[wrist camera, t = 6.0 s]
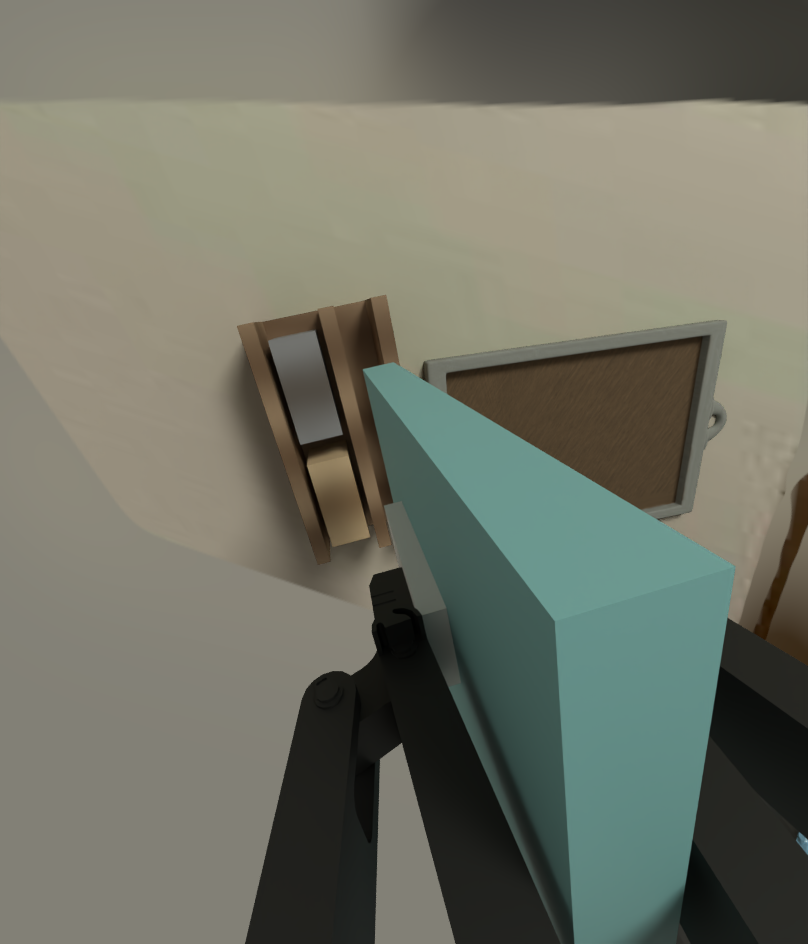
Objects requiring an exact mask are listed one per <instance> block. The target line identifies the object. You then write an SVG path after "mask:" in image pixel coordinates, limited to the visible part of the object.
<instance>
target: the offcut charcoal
mask: <svg viewBox="0 0 808 944" xmlns="http://www.w3.org/2000/svg"><path fill="white" fill-rule="evenodd" d="M268 343H269V347H270V350H271V353H272V356H273V359H274V362H275V366H276V369H277V372H278V375H279V378H280V381H281V385H282V388H283V391H284V394H285V397H286V401H287V404H288V407H289V410H290V413H291V416H292V420H293V423H294V426H295V429H296V432H297V435H298V439H299V442H300V445H302V444H306V443H310V442H314V441H318V440H322V439H327V438H331V437H335V436H339V435H343V433H342V426H341V420H340V417H339V413H338V409H337V405H336V402H335V398H334V394H333V390H332V387H331V383H330V379H329V375H328V372H327V368H326V364H325V360H324V357H323V353H322V349H321V345H320V341H319V338H318V334H317V330H316V329H315V330H311V331H306V332H301V333H297V334H292V335H287V336H282V337H278V338H274V339H271V340H269V341H268Z"/></svg>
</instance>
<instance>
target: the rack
mask: <svg viewBox="0 0 808 944" xmlns="http://www.w3.org/2000/svg"><path fill="white" fill-rule="evenodd" d="M237 328H238V331H239V334H240V337H241V340H242V343H243V346H244V349H245V352H246V355H247V357H248V360H249V363H250V366H251V369H252V372H253V375H254V378H255V381H256V384H257V387H258V390H259V393H260V396H261V399H262V402H263V405H264V407H265V410H266V413H267V416H268V419H269V422H270V425H271V428H272V431H273V434H274V437H275V440H276V443H277V446H278V449H279V452H280V455H281V457H282V460H283V463H284V466H285V469H286V472H287V475H288V478H289V481H290V484H291V487H292V490H293V493H294V496H295V499H296V502H297V505H298V507H299V510H300V513H301V516H302V519H303V522H304V525H305V528H306V531H307V534H308V537H309V540H310V543H311V546H312V549H313V552H314V555H315V557H316V560H317V563H318V565H319V564H323V563H327V562H330V537H329V534H328V531H327V527H326V524H325V521H324V518H323V515H322V512H321V508H320V505H319V502H318V499H317V496H316V493H315V489H314V486H313V483H312V480H311V477H310V473H309V470H308V467H307V462H308V454H309V449H310V448H314V447H318V446H322V445H326V444H331V443H335V442H339V441H343V440H346V443H347V447H348V451H349V454H350V458H351V462H352V466H353V469H354V473H355V477H356V481H357V484H358V488H359V492H360V496H361V499H362V503H363V507H364V511H365V515H366V519H367V524H368V526H369V525H373V524H374V528H375V532H376V536H377V540H378V544H379V548H382V547H385V546H389V545H392V544H391V540H390V536H389V532H388V527H387V523H386V521H387V516H386V512H385V508H384V505H388V504H392V503H393V499H392V495H391V490H390V486H389V482H388V477H387V473H386V469H385V464H384V460H383V456H382V451H381V447H380V443H379V438H378V434H377V430H376V425H375V421H374V417H373V412H372V408H371V404H370V399H369V395H368V391H367V386H366V382H365V378H364V374H363V369H366V368H370V367H375V366H379V365H384V364H388V363H392V362H394V363H396V364H397V365H399V366H400V364H399V359H398V354H397V349H396V344H395V338H394V333H393V328H392V323H391V318H390V313H389V307H388V302H387V297H386V295H383V296H378V297H373V298H370V299H367V300H365V301H361V302H356V303H351V304H346V305H342V306H337V307H334V306H330V307H325V308H320V309H318V311H313V312H308V313H303V314H299V315H294V316H289V317H284V318H279V319H275V320H270V321H265V322H253V323H248V324H244V325H239V326H237ZM315 329H316V330H317V334H318V338H319V341H320V345H321V349H322V353H323V357H324V360H325V364H326V368H327V372H328V375H329V379H330V383H331V387H332V390H333V394H334V398H335V402H336V405H337V409H338V413H339V417H340V420H341V426H342V433H343V435H339V436H335V437H331V438H327V439H322V440H318V441H314V442H310V443H306V444H302V445H300V442H299V439H298V435H297V432H296V429H295V426H294V423H293V420H292V416H291V413H290V410H289V407H288V404H287V401H286V397H285V394H284V391H283V388H282V385H281V381H280V378H279V375H278V372H277V369H276V366H275V362H274V359H273V356H272V353H271V350H270V347H269V343H268V341H269V340H271V339H274V338H278V337H282V336H287V335H292V334H297V333H301V332H306V331H311V330H315Z"/></svg>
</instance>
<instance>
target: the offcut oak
mask: <svg viewBox="0 0 808 944" xmlns="http://www.w3.org/2000/svg"><path fill="white" fill-rule="evenodd" d="M307 467H308V470H309V473H310V477H311V480H312V483H313V486H314V489H315V493H316V496H317V499H318V502H319V505H320V508H321V512H322V515H323V518H324V521H325V524H326V527H327V531H328V534H329V537H330V540H331V543H332V546H333V547H335V546H339V545H343V544H347V543H350V542H354V541H358V540H361V539H365V538H369V537H370V534H369V529H368V524H367V519H366V515H365V511H364V507H363V503H362V499H361V496H360V492H359V488H358V484H357V481H356V477H355V473H354V469H353V466H352V462H351V458H350V454H349V451H348V447H347V443H346V440H343V441H339V442H335V443H331V444H326V445H322V446H318V447H314V448H310V449H309V454H308V462H307Z"/></svg>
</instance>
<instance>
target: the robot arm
mask: <svg viewBox="0 0 808 944" xmlns="http://www.w3.org/2000/svg"><path fill="white" fill-rule="evenodd" d="M384 508H385V512H386V516H387V521H388V525H389V529H390V533H391V537H392V541H393V545H394V549H395V554H396V558H397V562H398V565H399V568H396V569H393V570H389V571H386V572H382V573H378V574H375V575H373V578H372V580H371V583H370V585H369V587H370V593H371V598H372V605H373V612H374V618H375V620H374V622H373V624H372V635H373V638H374V641H375V645H376V648H377V652H376V654H375V656H374V657H373V659H372V660H371V661H370V662H369V663H368V664H367V665H366V666H365V667H363V668H362V669H361V670H359V671H357V672H356V673H354V674H353V675H351V676H350V675H349V674H347V673H344V672H343V671H332V672H329V673H326V674H323V675H321V676H320V677H318V678H317V679H316V680H314V681H313V682H312V683H311V684H310V686H309V687H308V688H307V689H306V691H305V693H304V696H303V698H302V701H301V706H300V710H299V714H298V718H297V722H296V727H295V731H294V736H293V740H292V744H291V748H290V753H289V757H288V761H287V766H286V770H285V774H284V779H283V783H282V787H281V792H280V796H279V800H278V805H277V809H276V813H275V817H274V821H273V826H272V830H271V834H270V839H269V843H268V847H267V852H266V856H265V860H264V865H263V869H262V874H261V877H260V882H259V886H258V890H257V895H256V899H255V903H254V908H253V912H252V917H251V921H250V925H249V929H248V933H247V938H246V942H245V944H375V913H376V911H375V910H376V909H375V908H376V877H377V843H378V842H377V841H378V840H377V839H378V806H379V772H380V771H379V769H380V758H382V757H383V756H384V755H386V754H387V753H388V752H390V751H391V750H393V749H394V748H395V747H397V746H398V745H399V744H401V743H402V744H403V748H404V752H405V756H406V760H407V763H408V767H409V771H410V775H411V778H412V782H413V785H414V790H415V793H416V797H417V801H418V805H419V808H420V812H421V816H422V819H423V823H424V827H425V831H426V835H427V838H428V842H429V846H430V850H431V853H432V857H433V861H434V865H435V868H436V872H437V876H438V880H439V883H440V887H441V891H442V895H443V898H444V902H445V906H446V910H447V913H448V917H449V921H450V924H451V928H452V932H453V935H454V940H455V943H456V944H561V943H560V941H559V938H558V936H557V934H556V931H555V929H554V927H553V925H552V922H551V920H550V918H549V916H548V913H547V911H546V909H545V906H544V904H543V902H542V900H541V897H540V895H539V893H538V890H537V888H536V886H535V884H534V881H533V879H532V877H531V874H530V872H529V870H528V868H527V865H526V863H525V861H524V858H523V856H522V854H521V852H520V849H519V847H518V845H517V842H516V840H515V838H514V836H513V833H512V831H511V829H510V826H509V824H508V822H507V820H506V817H505V815H504V813H503V810H502V808H501V806H500V804H499V801H498V799H497V797H496V795H495V792H494V790H493V788H492V785H491V783H490V781H489V779H488V776H487V774H486V772H485V769H484V767H483V765H482V763H481V760H480V758H479V756H478V753H477V751H476V749H475V747H474V744H473V742H472V740H471V737H470V735H469V733H468V731H467V728H466V726H465V724H464V721H463V719H462V717H461V715H460V712H459V710H458V708H457V705H456V703H455V701H454V699H453V696H452V694H451V692H450V690H449V687H450V686H453V685H456V684H459V683H461V680H460V675H459V670H458V665H457V660H456V654H455V649H454V644H453V639H452V634H451V629H450V624H449V619H448V613H447V608H446V606H445V603H444V601H443V599H442V596H441V594H440V592H439V589H438V587H437V584H436V582H435V580H434V577H433V575H432V572H431V570H430V568H429V565H428V563H427V561H426V558H425V556H424V553H423V551H422V549H421V546H420V544H419V541H418V539H417V537H416V534H415V532H414V530H413V527H412V525H411V522H410V520H409V518H408V515H407V513H406V510H405V508H404V506H403V503H402V501H400V502H396V503H392V504H388V505H384ZM676 944H808V666H807V665H805V664H804V663H802V662H800V661H798V660H797V659H795V658H794V657H792V656H790V655H789V654H787V653H785V652H783V651H782V650H780V649H779V648H777V647H775V646H774V645H772V644H770V643H768V642H767V641H765V640H764V639H762V638H760V637H759V636H757V635H755V634H754V633H752V632H750V631H748V630H747V629H745V628H743V627H742V626H740V625H738V624H737V623H735V622H733V621H732V620H730V619H728V618H727V623H726V630H725V636H724V642H723V649H722V655H721V661H720V668H719V674H718V680H717V687H716V693H715V699H714V706H713V712H712V718H711V725H710V731H709V737H708V744H707V750H706V756H705V763H704V769H703V775H702V782H701V788H700V795H699V801H698V807H697V814H696V820H695V826H694V833H693V839H692V845H691V852H690V858H689V864H688V871H687V877H686V883H685V890H684V896H683V902H682V909H681V915H680V921H679V928H678V934H677V940H676Z"/></svg>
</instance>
